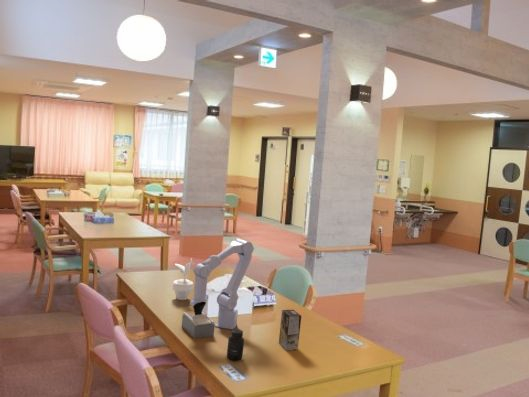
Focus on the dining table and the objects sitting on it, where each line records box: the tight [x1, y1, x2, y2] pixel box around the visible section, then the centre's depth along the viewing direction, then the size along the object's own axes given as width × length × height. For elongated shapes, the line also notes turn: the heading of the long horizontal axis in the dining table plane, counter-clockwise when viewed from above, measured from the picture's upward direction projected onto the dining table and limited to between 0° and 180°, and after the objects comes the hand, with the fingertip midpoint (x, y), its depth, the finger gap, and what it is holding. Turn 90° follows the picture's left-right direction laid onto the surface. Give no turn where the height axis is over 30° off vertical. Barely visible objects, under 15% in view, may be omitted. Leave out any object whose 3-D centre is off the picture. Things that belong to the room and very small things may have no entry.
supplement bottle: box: [226, 328, 245, 362], centre depth 208 cm, size 7×7×12 cm
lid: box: [192, 313, 212, 325], centre depth 231 cm, size 7×7×2 cm
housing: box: [181, 311, 216, 339], centre depth 235 cm, size 16×10×7 cm, turn 30°
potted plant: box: [172, 256, 195, 301], centre depth 282 cm, size 13×12×25 cm
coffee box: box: [278, 309, 302, 351], centre depth 227 cm, size 9×6×16 cm
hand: (197, 316), depth 236 cm, fingers closed
